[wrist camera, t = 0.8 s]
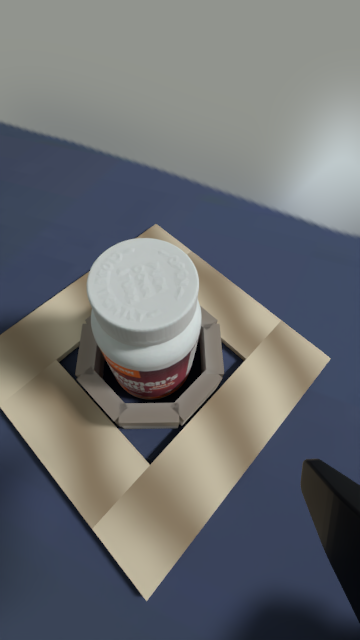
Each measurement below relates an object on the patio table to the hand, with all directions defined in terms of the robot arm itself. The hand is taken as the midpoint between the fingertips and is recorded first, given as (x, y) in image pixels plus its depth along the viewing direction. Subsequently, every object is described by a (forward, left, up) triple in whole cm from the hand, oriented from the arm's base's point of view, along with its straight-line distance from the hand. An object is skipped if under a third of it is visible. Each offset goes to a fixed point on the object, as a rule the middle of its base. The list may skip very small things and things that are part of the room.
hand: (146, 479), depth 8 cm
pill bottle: (+5, +6, -13) cm, 15 cm away
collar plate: (+5, +6, -13) cm, 15 cm away
